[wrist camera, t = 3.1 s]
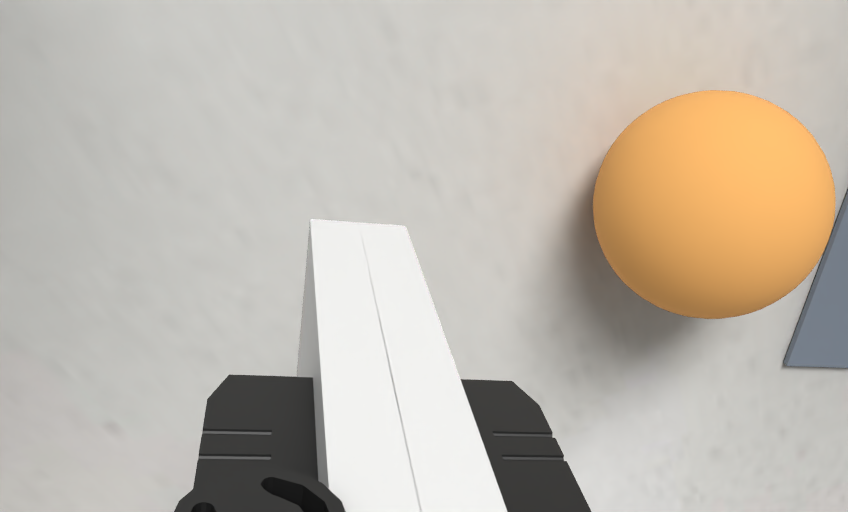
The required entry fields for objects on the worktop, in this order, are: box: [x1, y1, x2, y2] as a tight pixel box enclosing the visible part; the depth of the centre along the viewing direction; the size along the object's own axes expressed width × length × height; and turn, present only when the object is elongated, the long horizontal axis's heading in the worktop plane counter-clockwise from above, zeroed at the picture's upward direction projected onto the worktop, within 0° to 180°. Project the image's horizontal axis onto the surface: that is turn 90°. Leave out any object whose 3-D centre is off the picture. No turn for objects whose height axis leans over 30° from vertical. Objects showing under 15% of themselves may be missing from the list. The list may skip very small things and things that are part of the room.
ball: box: [593, 90, 835, 319], centre depth 19 cm, size 6×6×6 cm
